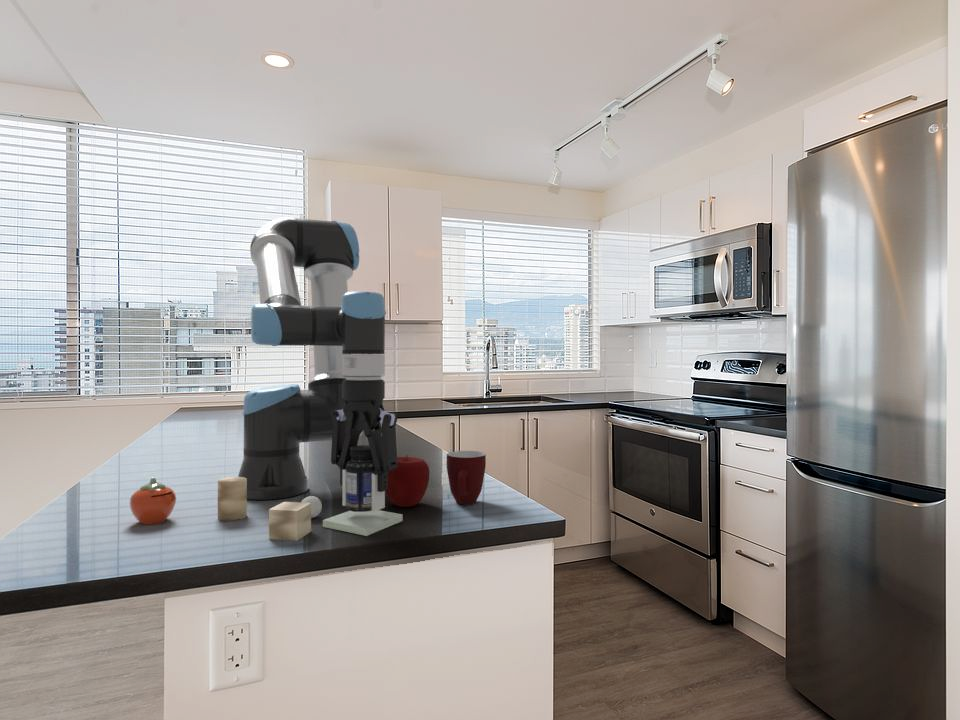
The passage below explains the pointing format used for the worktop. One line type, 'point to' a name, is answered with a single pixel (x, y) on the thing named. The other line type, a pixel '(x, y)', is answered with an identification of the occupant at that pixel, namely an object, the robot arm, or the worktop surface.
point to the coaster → (362, 521)
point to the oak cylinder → (232, 498)
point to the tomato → (152, 503)
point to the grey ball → (313, 505)
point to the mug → (466, 475)
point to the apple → (408, 481)
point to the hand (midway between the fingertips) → (363, 506)
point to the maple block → (289, 521)
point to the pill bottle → (359, 479)
